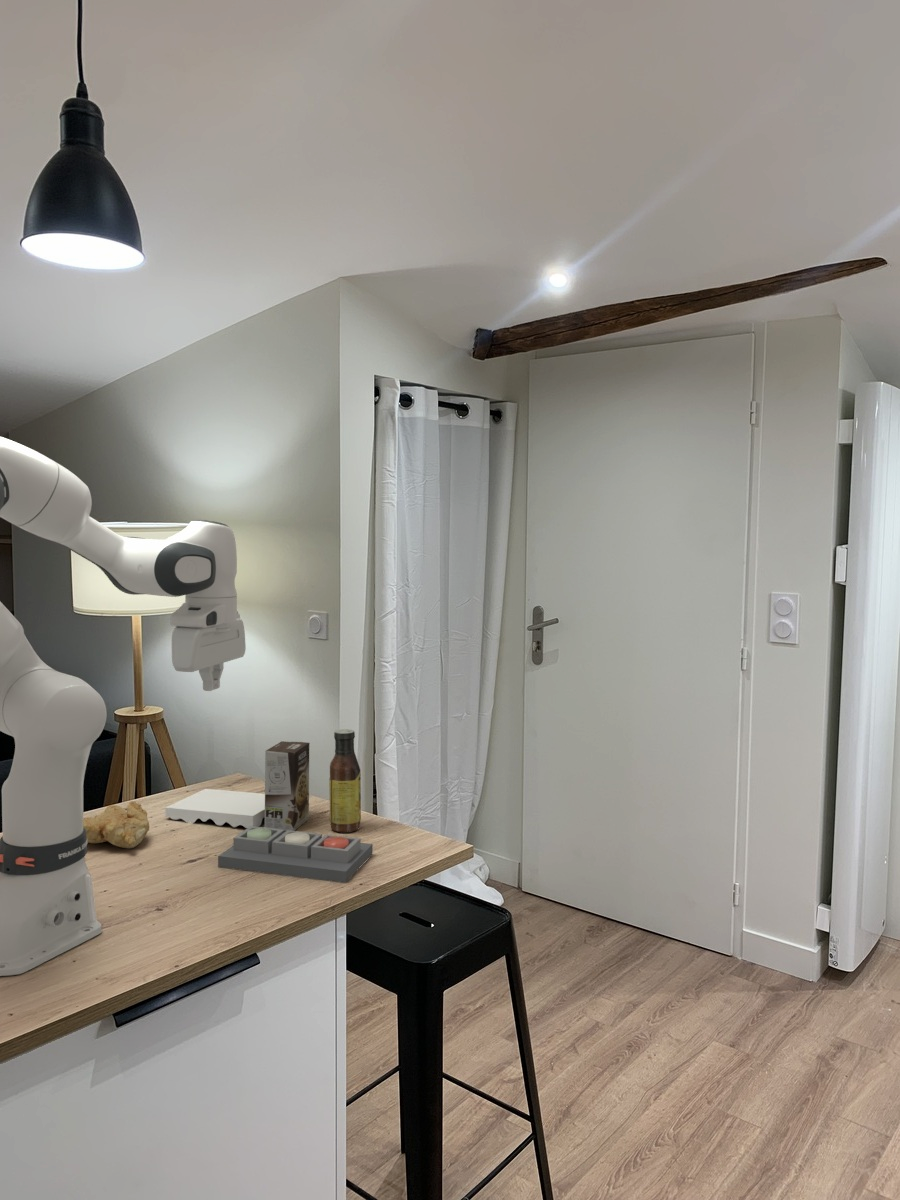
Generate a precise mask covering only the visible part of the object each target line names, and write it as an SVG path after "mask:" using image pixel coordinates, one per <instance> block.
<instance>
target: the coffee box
mask: <svg viewBox="0 0 900 1200" xmlns="http://www.w3.org/2000/svg"><path fill="white" fill-rule="evenodd" d="M264 751H265V754H264V756H265V759H264V760H265V763H264V765H265V767H264V794H265V817H264V828H273V829H282V830H284V832H286V831H287V830H291V831H297V829H298V828H299V827H301V826H302V825H303V824H304V823H305V822H307V820H309V818H310V742H303V741H280V742H278V743H277V744H274V745H273V746H271V747H270V748H268V749H265V750H264Z"/></svg>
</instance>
